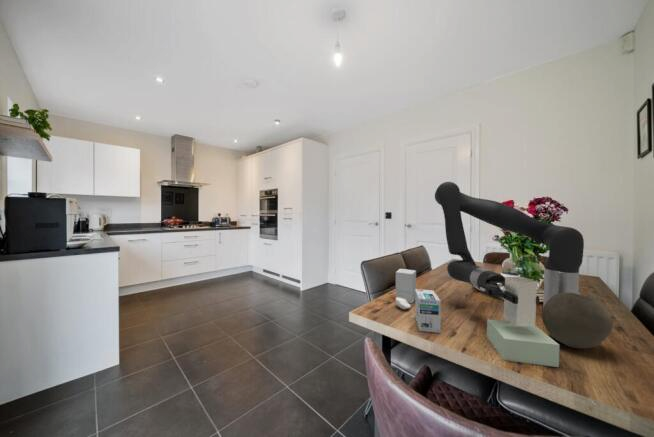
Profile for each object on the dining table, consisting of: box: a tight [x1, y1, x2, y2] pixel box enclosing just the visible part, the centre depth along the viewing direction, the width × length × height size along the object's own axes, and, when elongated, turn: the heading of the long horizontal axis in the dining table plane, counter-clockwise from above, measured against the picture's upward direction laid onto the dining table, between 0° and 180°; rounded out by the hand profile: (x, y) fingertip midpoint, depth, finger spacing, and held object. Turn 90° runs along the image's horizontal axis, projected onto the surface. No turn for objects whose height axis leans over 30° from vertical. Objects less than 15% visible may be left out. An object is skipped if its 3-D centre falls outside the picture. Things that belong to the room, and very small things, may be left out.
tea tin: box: [503, 276, 538, 326], centre depth 69 cm, size 5×5×12 cm
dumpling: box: [394, 297, 412, 310], centre depth 99 cm, size 7×5×4 cm
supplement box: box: [395, 268, 417, 304], centre depth 109 cm, size 7×7×13 cm
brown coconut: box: [541, 293, 614, 350], centre depth 72 cm, size 14×14×15 cm
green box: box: [486, 318, 561, 368], centre depth 69 cm, size 12×12×6 cm
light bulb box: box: [414, 288, 442, 334], centre depth 85 cm, size 11×7×11 cm, turn 168°
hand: (527, 300), depth 66 cm, fingers closed on tea tin, 5 cm apart
